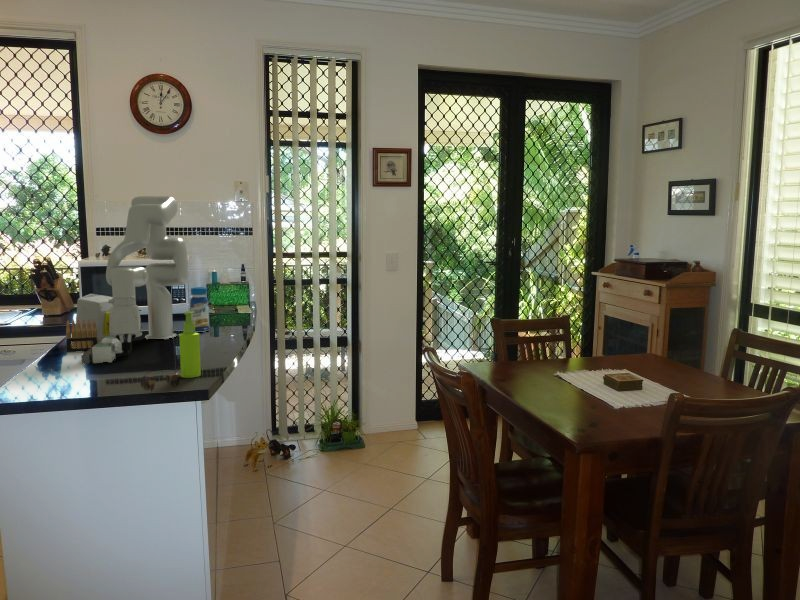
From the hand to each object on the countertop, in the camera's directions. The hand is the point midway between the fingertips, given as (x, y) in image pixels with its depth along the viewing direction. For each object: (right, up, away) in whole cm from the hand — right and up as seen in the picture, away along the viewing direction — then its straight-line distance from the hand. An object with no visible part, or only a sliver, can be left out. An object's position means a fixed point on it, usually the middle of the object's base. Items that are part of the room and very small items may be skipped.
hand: (126, 352), depth 224 cm
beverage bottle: (+9, +4, +55) cm, 56 cm away
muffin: (-6, -2, -2) cm, 7 cm away
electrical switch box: (-21, +2, +28) cm, 35 cm away
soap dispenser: (+34, -5, -31) cm, 46 cm away
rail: (-7, -1, -2) cm, 8 cm away
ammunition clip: (-21, 0, +9) cm, 23 cm away
